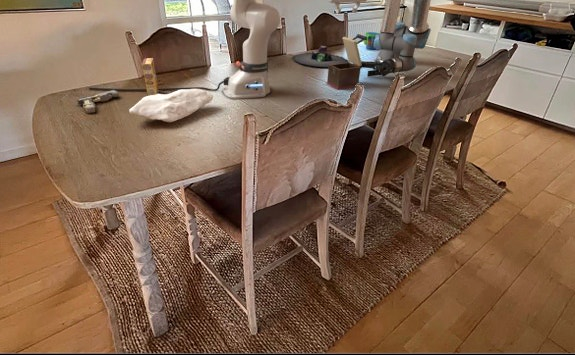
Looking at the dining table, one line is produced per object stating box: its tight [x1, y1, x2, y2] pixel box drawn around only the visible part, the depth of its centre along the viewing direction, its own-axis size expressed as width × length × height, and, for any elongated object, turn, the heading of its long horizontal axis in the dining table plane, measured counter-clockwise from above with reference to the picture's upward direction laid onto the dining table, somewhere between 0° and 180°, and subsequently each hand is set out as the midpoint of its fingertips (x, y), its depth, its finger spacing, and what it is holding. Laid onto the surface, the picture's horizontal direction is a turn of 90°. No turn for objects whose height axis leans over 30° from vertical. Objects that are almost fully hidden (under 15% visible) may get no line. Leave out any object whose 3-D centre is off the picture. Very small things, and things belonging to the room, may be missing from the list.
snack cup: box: [363, 31, 380, 50], centre depth 257 cm, size 16×10×10 cm
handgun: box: [76, 90, 120, 114], centre depth 155 cm, size 3×18×15 cm
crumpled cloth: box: [129, 89, 214, 123], centre depth 147 cm, size 24×35×9 cm
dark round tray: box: [291, 45, 349, 68], centre depth 225 cm, size 35×35×9 cm
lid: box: [342, 33, 367, 66], centre depth 182 cm, size 13×10×9 cm
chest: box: [326, 61, 362, 90], centre depth 186 cm, size 13×10×10 cm
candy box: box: [141, 57, 160, 96], centre depth 163 cm, size 9×4×15 cm, turn 13°
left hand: (346, 13), depth 169 cm, fingers open, 8 cm apart
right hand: (359, 70), depth 190 cm, fingers open, 13 cm apart
